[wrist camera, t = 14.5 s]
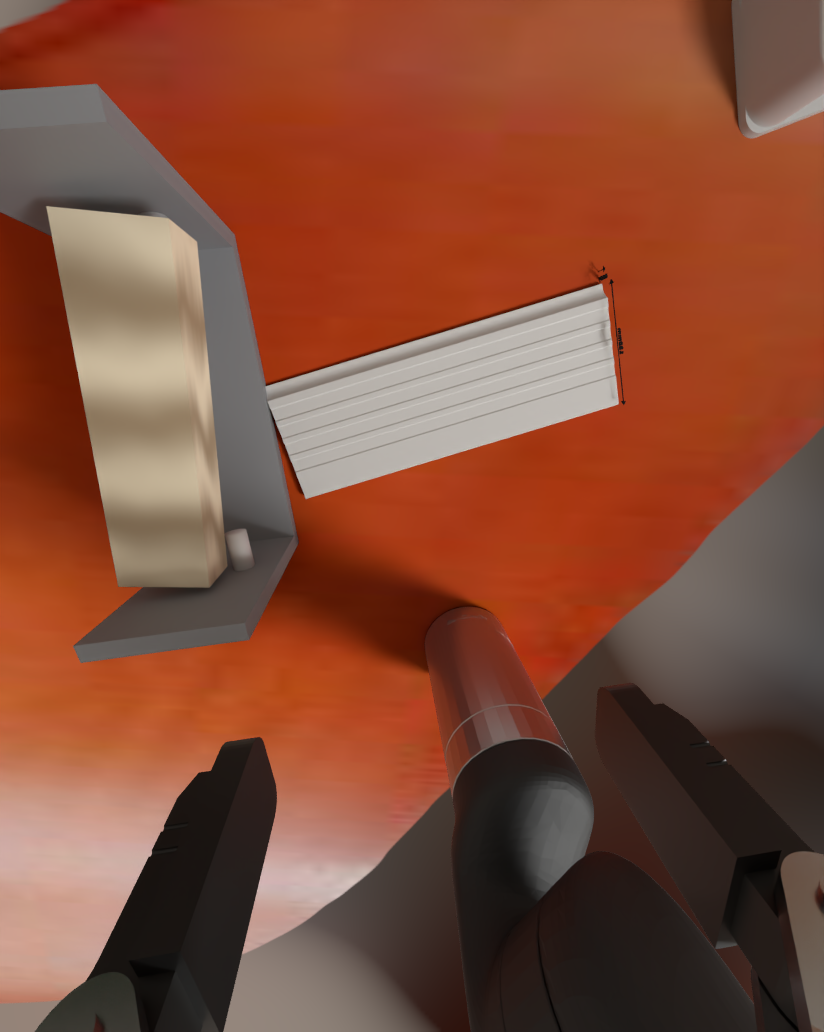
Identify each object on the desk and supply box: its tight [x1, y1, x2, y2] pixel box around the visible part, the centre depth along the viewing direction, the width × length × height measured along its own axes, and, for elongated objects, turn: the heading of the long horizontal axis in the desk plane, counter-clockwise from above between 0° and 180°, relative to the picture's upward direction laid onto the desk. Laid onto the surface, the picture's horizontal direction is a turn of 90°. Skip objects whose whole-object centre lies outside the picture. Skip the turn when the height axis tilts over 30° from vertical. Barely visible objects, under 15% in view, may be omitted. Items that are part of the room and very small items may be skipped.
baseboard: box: [265, 266, 626, 499], centre depth 35 cm, size 31×3×12 cm
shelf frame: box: [0, 84, 299, 663], centre depth 27 cm, size 26×10×16 cm, turn 6°
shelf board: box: [46, 206, 227, 588], centre depth 26 cm, size 22×6×4 cm, turn 177°
